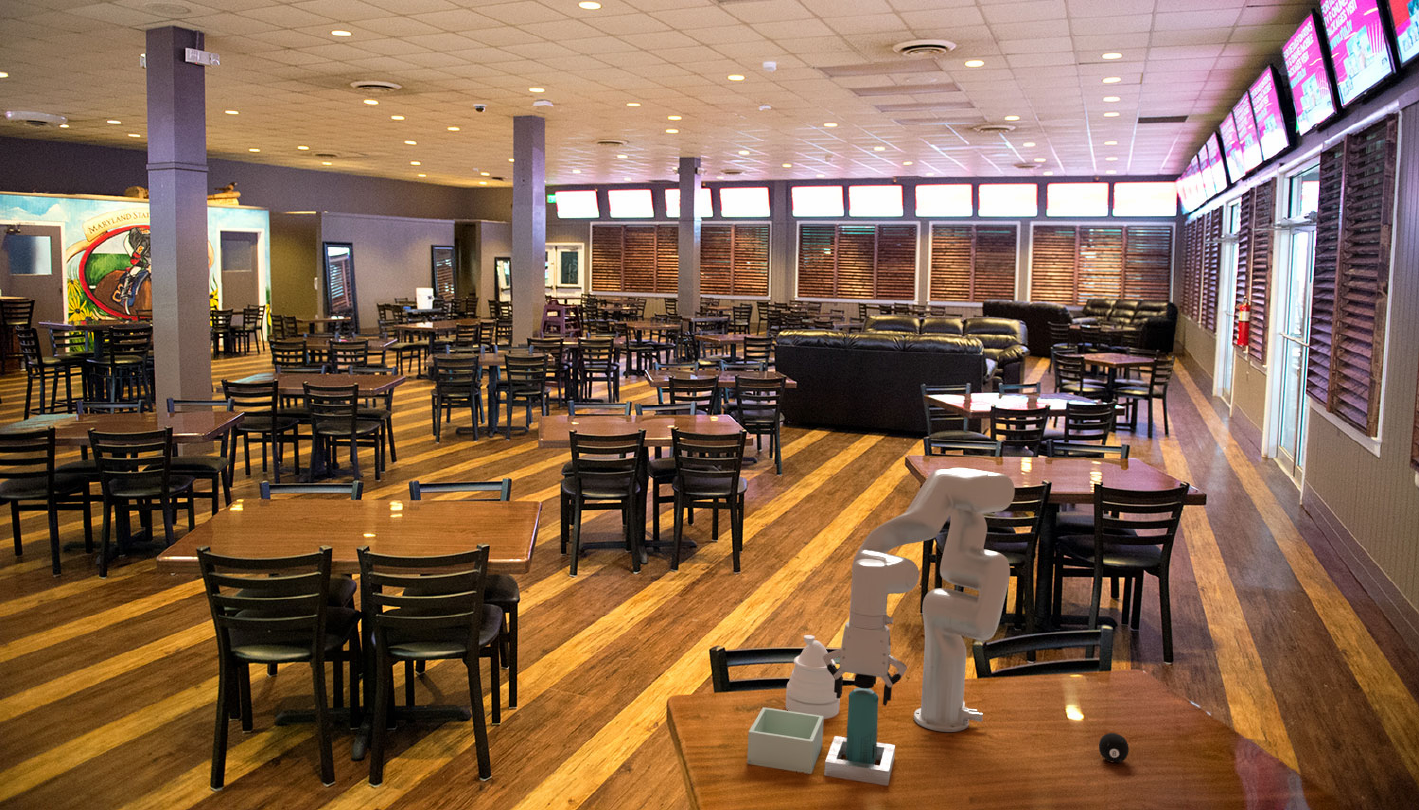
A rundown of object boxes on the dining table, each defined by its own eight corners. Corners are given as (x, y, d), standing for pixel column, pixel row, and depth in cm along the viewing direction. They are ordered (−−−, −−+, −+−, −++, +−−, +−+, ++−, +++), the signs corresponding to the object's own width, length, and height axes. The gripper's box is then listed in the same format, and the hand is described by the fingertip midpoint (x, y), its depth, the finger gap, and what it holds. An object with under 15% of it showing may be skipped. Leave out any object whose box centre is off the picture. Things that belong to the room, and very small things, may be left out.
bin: (822, 746, 225) (823, 716, 224) (811, 774, 212) (812, 741, 211) (761, 737, 228) (763, 707, 228) (747, 763, 215) (748, 731, 214)
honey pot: (806, 723, 237) (809, 648, 235) (775, 703, 248) (778, 631, 246) (850, 713, 243) (854, 640, 241) (818, 694, 254) (821, 624, 252)
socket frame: (894, 758, 220) (895, 745, 220) (887, 785, 208) (888, 771, 207) (834, 749, 224) (834, 736, 223) (824, 775, 211) (825, 761, 211)
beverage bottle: (875, 775, 212) (880, 682, 210) (843, 771, 213) (847, 679, 211) (876, 762, 218) (881, 671, 216) (845, 758, 219) (849, 668, 217)
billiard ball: (1126, 757, 225) (1128, 731, 224) (1128, 769, 219) (1130, 742, 218) (1097, 753, 227) (1099, 726, 226) (1098, 764, 221) (1100, 737, 220)
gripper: (911, 620, 213) (905, 700, 215) (828, 609, 218) (823, 687, 220) (908, 630, 206) (902, 712, 208) (823, 619, 211) (818, 699, 212)
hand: (862, 699), depth 214 cm, fingers open, 9 cm apart
